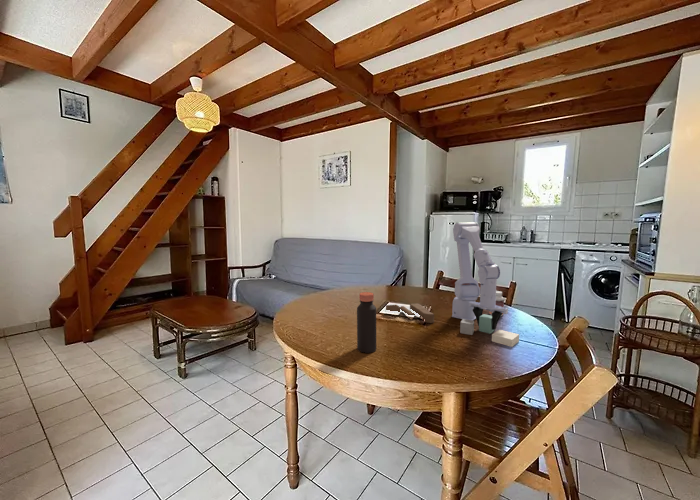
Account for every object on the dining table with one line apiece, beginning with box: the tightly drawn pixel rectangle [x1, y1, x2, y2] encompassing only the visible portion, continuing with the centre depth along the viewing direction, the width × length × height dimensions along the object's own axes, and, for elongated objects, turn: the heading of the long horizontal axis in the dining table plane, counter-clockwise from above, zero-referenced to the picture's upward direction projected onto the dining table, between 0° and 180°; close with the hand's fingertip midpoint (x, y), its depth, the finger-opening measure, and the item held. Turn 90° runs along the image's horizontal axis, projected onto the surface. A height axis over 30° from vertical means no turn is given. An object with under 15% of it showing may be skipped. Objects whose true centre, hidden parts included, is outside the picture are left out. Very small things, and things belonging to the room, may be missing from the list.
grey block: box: [459, 319, 475, 336], centre depth 118 cm, size 4×4×4 cm
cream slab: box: [491, 329, 520, 348], centre depth 109 cm, size 7×7×3 cm
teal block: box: [478, 313, 496, 335], centre depth 119 cm, size 4×4×6 cm
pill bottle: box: [488, 290, 505, 317], centre depth 139 cm, size 6×6×11 cm
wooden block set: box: [385, 303, 435, 324], centre depth 136 cm, size 17×6×18 cm
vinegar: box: [356, 291, 377, 354], centre depth 103 cm, size 7×7×20 cm
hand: (486, 327), depth 120 cm, fingers open, 5 cm apart
